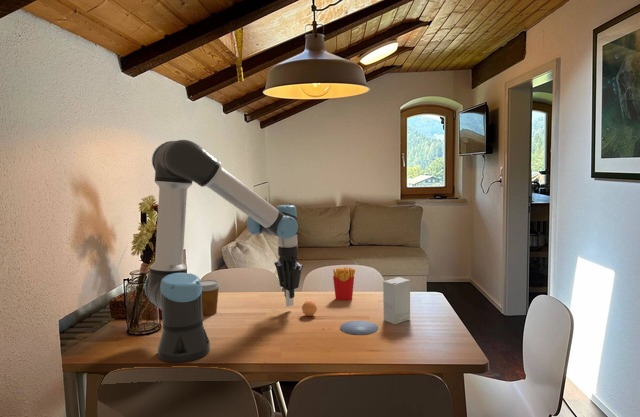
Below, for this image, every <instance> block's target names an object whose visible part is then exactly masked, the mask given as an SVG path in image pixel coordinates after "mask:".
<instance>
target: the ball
mask: <svg viewBox="0 0 640 417" xmlns="http://www.w3.org/2000/svg"><path fill="white" fill-rule="evenodd" d="M301 310H302V313H303V314H304V315H305V316H307V317H312V316H314V315H315V314H316V313H317V310H318V307H317V305H316V302H314V301H311V300H306V301H304V303H303V304H302V306H301Z"/></svg>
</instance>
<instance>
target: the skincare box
mask: <svg viewBox="0 0 640 417" xmlns="http://www.w3.org/2000/svg"><path fill="white" fill-rule="evenodd" d="M382 284H383V285H382V286H383V293H382V294H383V300H382V301H383V321H385V322H387V323H390V324H393V325H397V324H401V323H403V322H406V321H409V320H411V280H410V279H407V278H403V277H400V276H396V277H394V278H391V279H387V280H386V279H385V280H383V283H382Z"/></svg>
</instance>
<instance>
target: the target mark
mask: <svg viewBox="0 0 640 417" xmlns="http://www.w3.org/2000/svg"><path fill="white" fill-rule="evenodd" d="M339 328H340V331H342V332H343V333H345V334H349V335H356V336H365V335H370V334H374V333H376V332H377V331H378V330H379V326H378V325H377V324H376V323H374V322H371V321H367V320H352V321H351V320H350V321H346V322H343V323H342V324H341V325H340V326H339Z"/></svg>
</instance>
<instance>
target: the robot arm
mask: <svg viewBox="0 0 640 417" xmlns="http://www.w3.org/2000/svg"><path fill="white" fill-rule="evenodd" d="M151 165H152V168H153V169H154V171H155V172H154V183H155V184H156V185H157V186H158V202H157V203H158V206H157V220H156V221H157V224H156V241H155V258H154V262H153V263H152V264H150V266H149V273H148V274H149V275H148V276H147V278H146V279H145V283H144V292H145V293H144V294H145V295H146V297H147V299H148V301H149V302H150V303H152V305H154V306H155V307H157V308H158V309H160V310H161V315H162V316H161V318H162V332H161V336H160V339H159V340H160V341H159V345H158V347H157V355H158V358H159V359H160V360H161V361H163V362H167V363H184V362H185V363H186V362H190V361H196V360H199V359H201V358H202V357H205V356H206V355H207V354H209V353H210V350H211V345H210V344H211V343H210V340H209V337H208V335H207V332H206V330H205V328H204V321H203V320H204V318H203V314H202V286H201V281H202V280H201V279H200V278H199V276H197V275H196V274H194V273H188V266H187V265H186V264H185V263H184V249H185V248H184V246H185V233H186V231H185V230H186V229H185V228H186V213H187V198H188V197H187V196H188V189H189V188H191V187H192V185H193V182H194V183H195V184H197V185H198V186H200V187H201V188H202V187H204V188H205V187H206V188H208V189H210V190H211V191H213V192H214V193H215V194H217V195H218V196H220V198H222V199H223V200H225V201H227V202H228V203H229V204H231V205H232V206H233V207H235V208H236V209H238V210H239V211H240V212H242V213H243V214H245V215H246V216H248V217H247V219H246V227H247V230H248V232H249V233H250V234H251V235H261V234H265V235H269V236H273V237H277V245H278V247H277V250H278V251H277V255H278V260H277V261H275V262H274V263H273V264H274V266H275V268H276V273H277V279H278V284H279V286H280V287H281V288H283V289H284V297H285V307H288V308H290V307H292V306H294V298H295V290H296V289H298V288H299V287H300V286H299V285H300V280H301V274H302V270H303V268H304V265H303V264H300V263H299V259H298V255H299V247H298V230H299V229H298V228H299V225H298V214H297V206H295V205H293V204H280V205H277V206H276V207H275V206H274V205H272V204H271V203H269V202H268V201H267V200H265V199H264V198H263V197H262V196H260V195H259V194H258V193H256V192H255V191H254V190H252V189H251V188H250V187H249V186H247V185H246V184H245V183H243V182H242V181H241V180H239V179H238V178H237V177H235V176H234V175H233V174H232V173H230V172H229V171H227V169H225V168H224V167H223V166H222V164H221V161H220V160H218V158H216V157H215V156H213V154H211V153H210V152H209V151H207V150H206V149H205V148H203V147H202V146H200V144H197V143H196V142H194V141H191V140H187V139H178V140H170V141H169V140H168V141H165V142H164V143H161V144H160V145H158V146H157V147H156V148H155V150H154V151H153V153H152V157H151Z"/></svg>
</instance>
